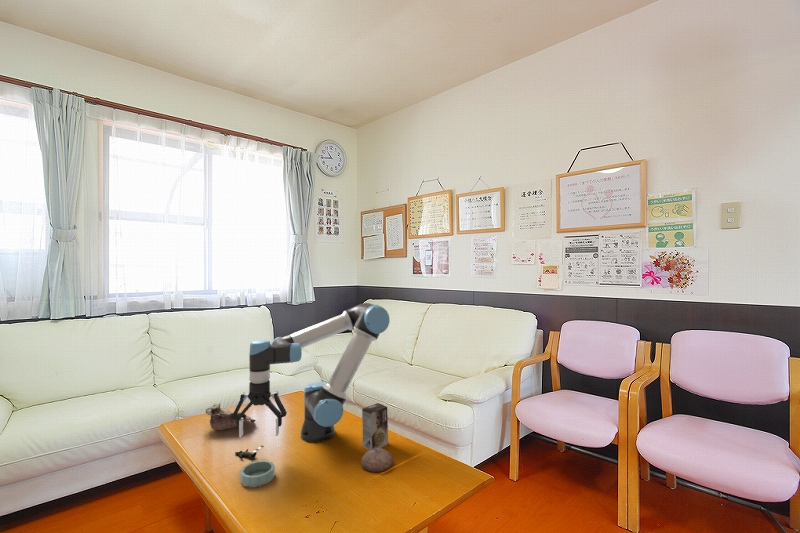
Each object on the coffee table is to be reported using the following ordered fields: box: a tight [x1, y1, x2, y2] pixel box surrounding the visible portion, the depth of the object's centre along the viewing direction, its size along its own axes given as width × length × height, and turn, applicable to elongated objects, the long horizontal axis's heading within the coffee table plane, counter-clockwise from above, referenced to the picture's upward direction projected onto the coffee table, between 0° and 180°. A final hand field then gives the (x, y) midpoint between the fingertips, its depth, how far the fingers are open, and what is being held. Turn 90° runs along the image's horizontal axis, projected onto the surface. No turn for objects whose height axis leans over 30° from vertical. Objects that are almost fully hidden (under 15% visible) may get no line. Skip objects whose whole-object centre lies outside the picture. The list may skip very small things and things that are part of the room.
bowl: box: [239, 459, 276, 488], centre depth 136 cm, size 11×11×4 cm
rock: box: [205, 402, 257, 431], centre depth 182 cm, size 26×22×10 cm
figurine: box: [234, 444, 265, 460], centre depth 152 cm, size 6×4×12 cm
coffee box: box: [361, 402, 389, 451], centre depth 160 cm, size 9×6×16 cm
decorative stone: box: [360, 447, 394, 473], centre depth 144 cm, size 12×12×6 cm
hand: (259, 435), depth 149 cm, fingers open, 13 cm apart
